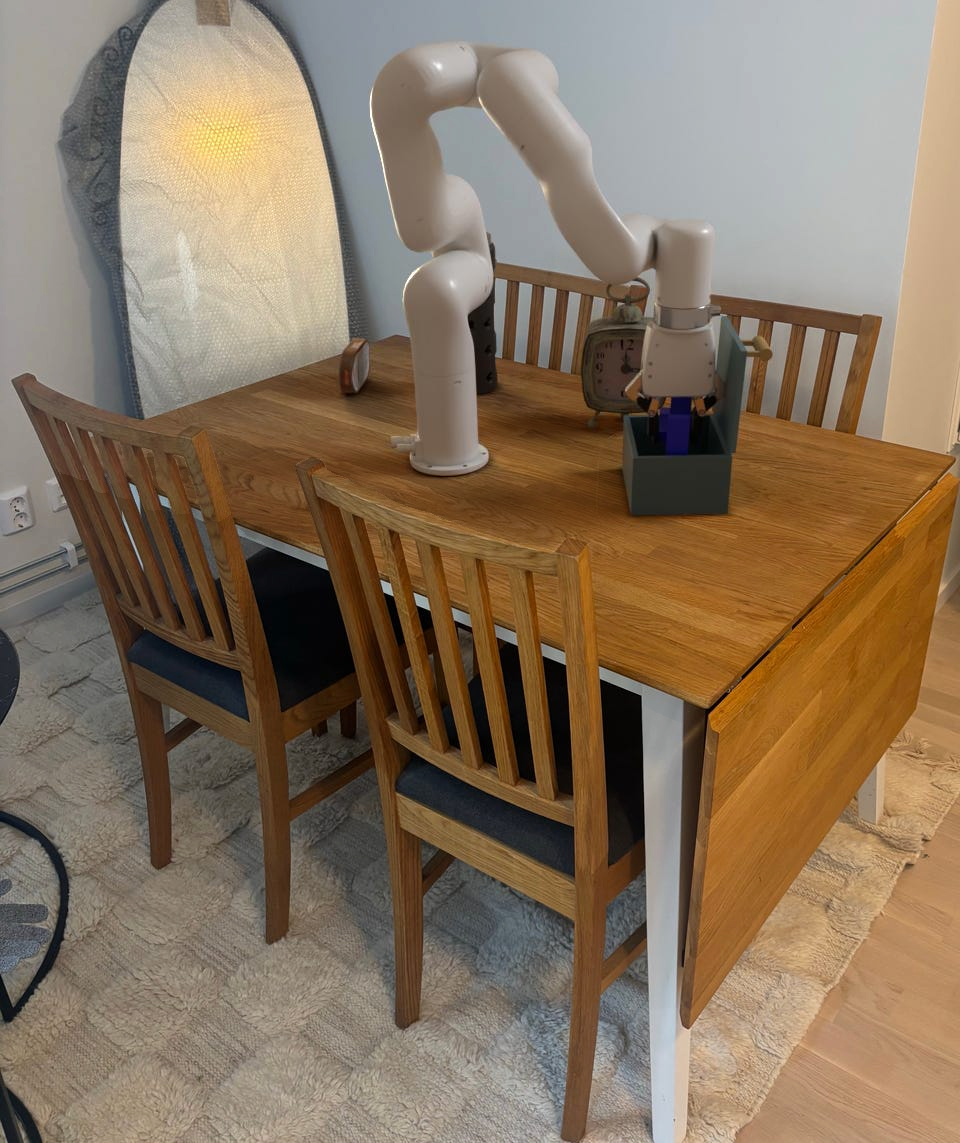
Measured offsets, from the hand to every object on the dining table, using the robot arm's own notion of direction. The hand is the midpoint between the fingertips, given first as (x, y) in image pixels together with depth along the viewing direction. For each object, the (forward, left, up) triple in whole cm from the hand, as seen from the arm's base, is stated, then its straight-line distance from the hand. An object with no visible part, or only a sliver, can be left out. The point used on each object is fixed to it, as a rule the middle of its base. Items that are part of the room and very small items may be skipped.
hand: (673, 438), depth 155 cm
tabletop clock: (-5, +27, -8) cm, 29 cm away
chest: (0, 0, -8) cm, 8 cm away
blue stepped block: (0, 0, -1) cm, 1 cm away
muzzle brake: (-32, +47, -8) cm, 58 cm away
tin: (-54, +49, -8) cm, 74 cm away
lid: (+7, 0, +8) cm, 11 cm away
